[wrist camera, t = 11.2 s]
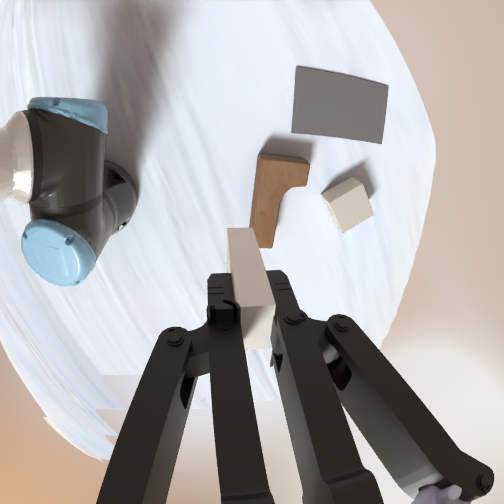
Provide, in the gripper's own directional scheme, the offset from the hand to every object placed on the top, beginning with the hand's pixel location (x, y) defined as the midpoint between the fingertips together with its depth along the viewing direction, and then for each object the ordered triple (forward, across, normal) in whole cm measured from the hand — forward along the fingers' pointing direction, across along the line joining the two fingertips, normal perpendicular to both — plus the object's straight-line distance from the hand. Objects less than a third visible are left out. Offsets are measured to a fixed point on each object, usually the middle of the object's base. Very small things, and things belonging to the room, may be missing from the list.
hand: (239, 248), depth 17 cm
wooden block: (+34, +11, -2) cm, 36 cm away
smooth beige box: (+37, +26, -11) cm, 46 cm away
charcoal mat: (+36, +23, +9) cm, 44 cm away
